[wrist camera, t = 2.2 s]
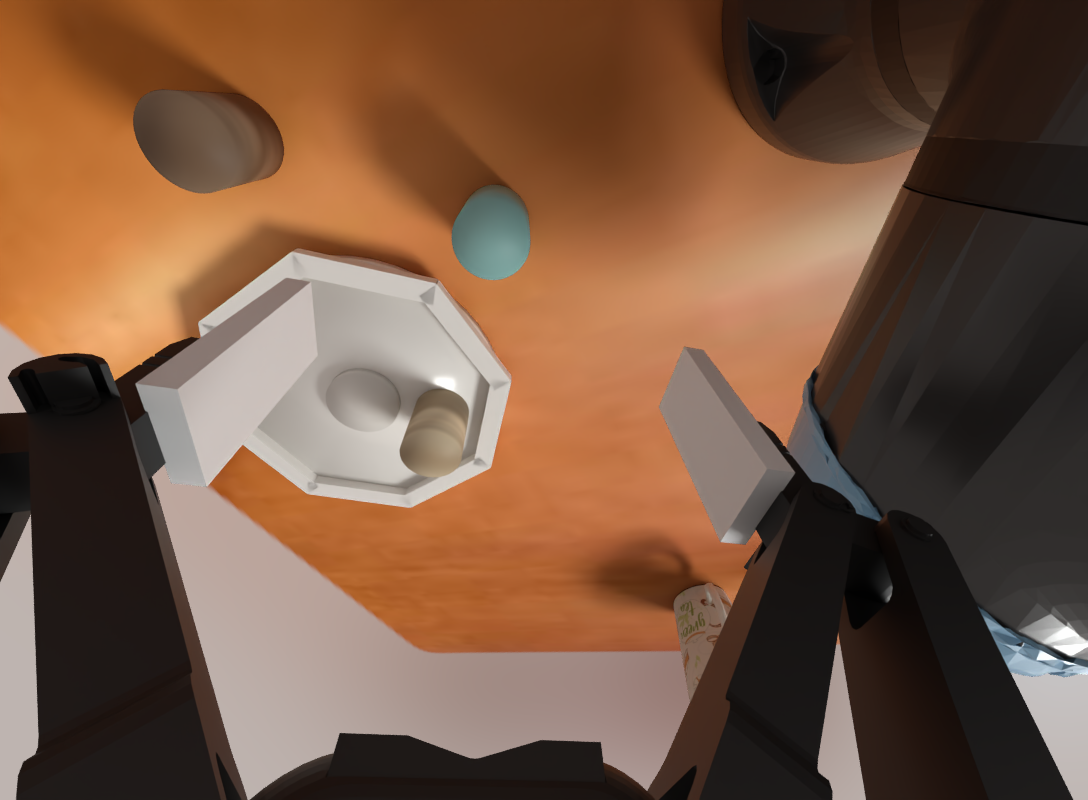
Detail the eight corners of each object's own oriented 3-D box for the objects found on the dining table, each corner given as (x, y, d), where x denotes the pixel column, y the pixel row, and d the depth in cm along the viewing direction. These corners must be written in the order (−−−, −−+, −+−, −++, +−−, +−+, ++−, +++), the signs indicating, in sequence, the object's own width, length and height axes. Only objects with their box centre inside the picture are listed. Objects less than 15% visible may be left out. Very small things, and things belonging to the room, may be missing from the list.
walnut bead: (196, 82, 22) (122, 77, 18) (280, 105, 23) (227, 104, 19) (209, 168, 24) (145, 181, 20) (286, 187, 25) (239, 202, 21)
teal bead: (468, 176, 25) (457, 189, 21) (535, 194, 26) (538, 210, 22) (458, 246, 27) (447, 270, 23) (521, 261, 28) (521, 287, 24)
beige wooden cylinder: (417, 384, 31) (401, 425, 27) (472, 394, 32) (465, 436, 28) (413, 427, 34) (397, 472, 29) (465, 436, 34) (457, 481, 30)
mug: (666, 625, 53) (693, 721, 44) (656, 562, 46) (686, 663, 37) (736, 613, 52) (777, 709, 43) (736, 547, 45) (785, 647, 37)
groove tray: (199, 220, 26) (179, 226, 24) (529, 294, 29) (529, 303, 28) (241, 468, 36) (229, 483, 35) (480, 501, 40) (478, 516, 38)
